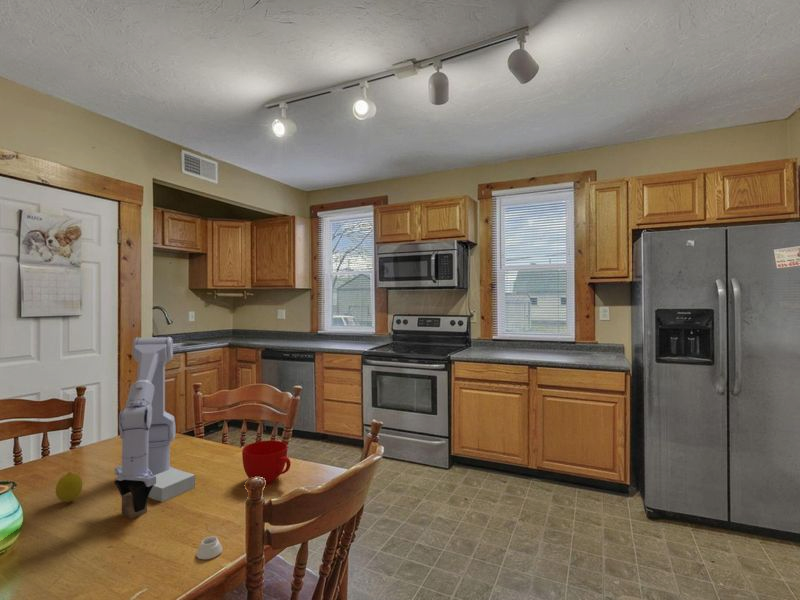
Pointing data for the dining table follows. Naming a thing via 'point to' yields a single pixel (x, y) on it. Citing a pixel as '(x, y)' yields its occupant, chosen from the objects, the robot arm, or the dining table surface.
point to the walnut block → (130, 507)
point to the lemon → (69, 487)
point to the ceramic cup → (265, 460)
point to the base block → (171, 484)
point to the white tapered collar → (209, 548)
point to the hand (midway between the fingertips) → (134, 508)
